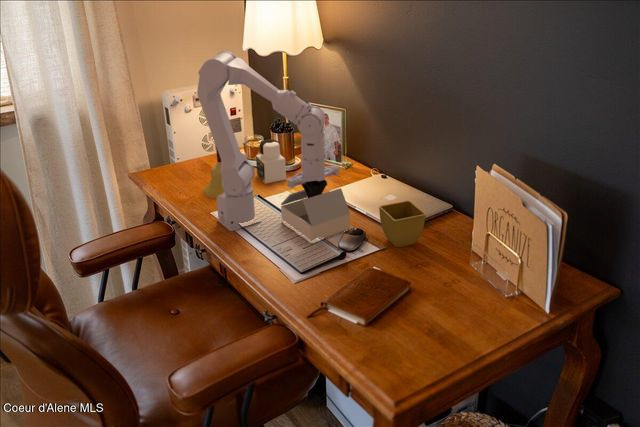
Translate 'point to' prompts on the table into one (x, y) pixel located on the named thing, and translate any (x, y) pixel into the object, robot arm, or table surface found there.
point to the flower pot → (402, 222)
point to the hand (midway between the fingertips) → (314, 205)
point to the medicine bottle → (270, 162)
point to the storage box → (300, 221)
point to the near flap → (326, 206)
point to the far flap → (295, 197)
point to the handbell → (215, 180)
